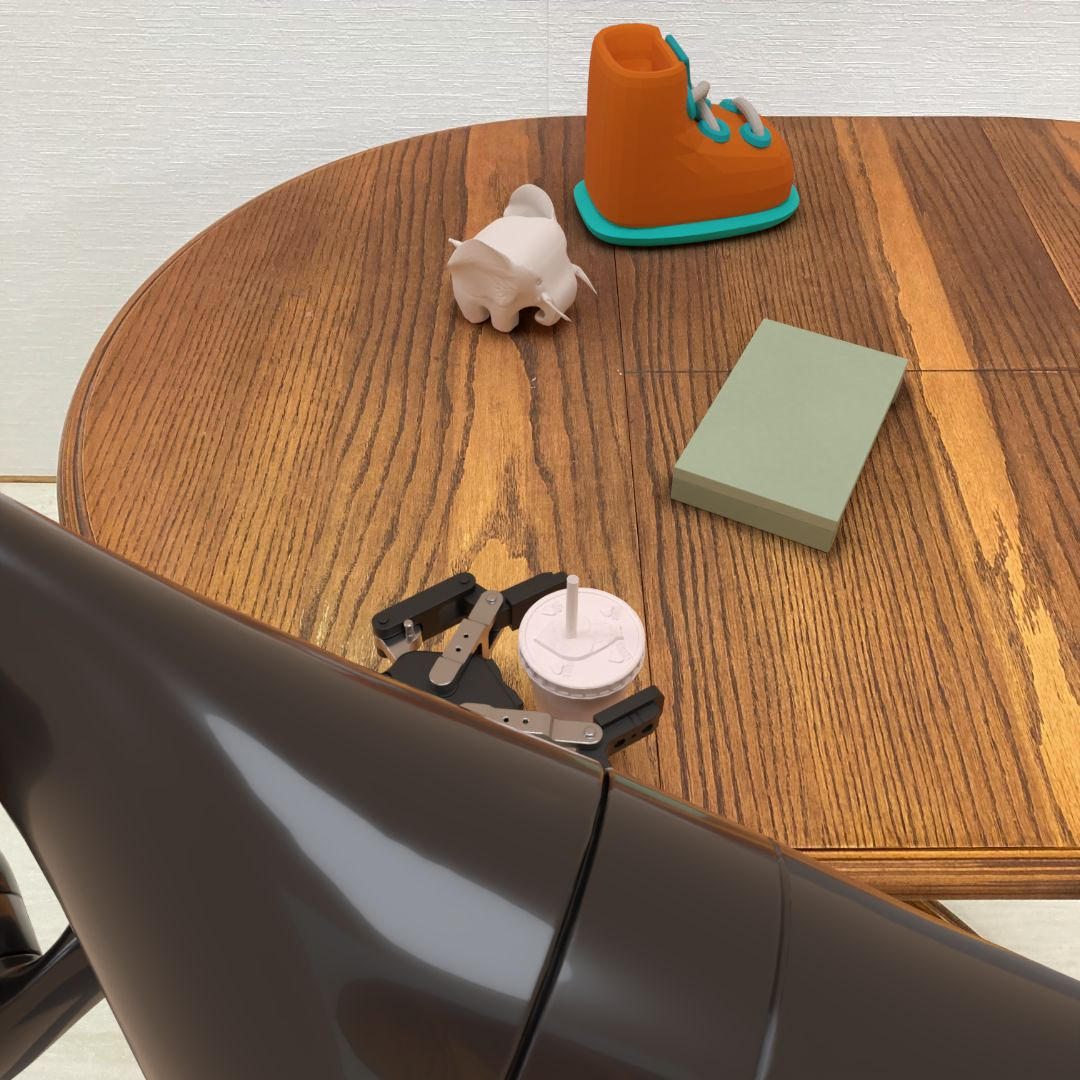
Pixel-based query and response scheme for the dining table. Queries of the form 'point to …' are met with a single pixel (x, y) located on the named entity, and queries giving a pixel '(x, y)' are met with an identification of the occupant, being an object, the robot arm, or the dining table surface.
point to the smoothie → (580, 651)
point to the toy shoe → (673, 150)
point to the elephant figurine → (516, 265)
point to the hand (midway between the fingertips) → (612, 640)
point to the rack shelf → (789, 433)
